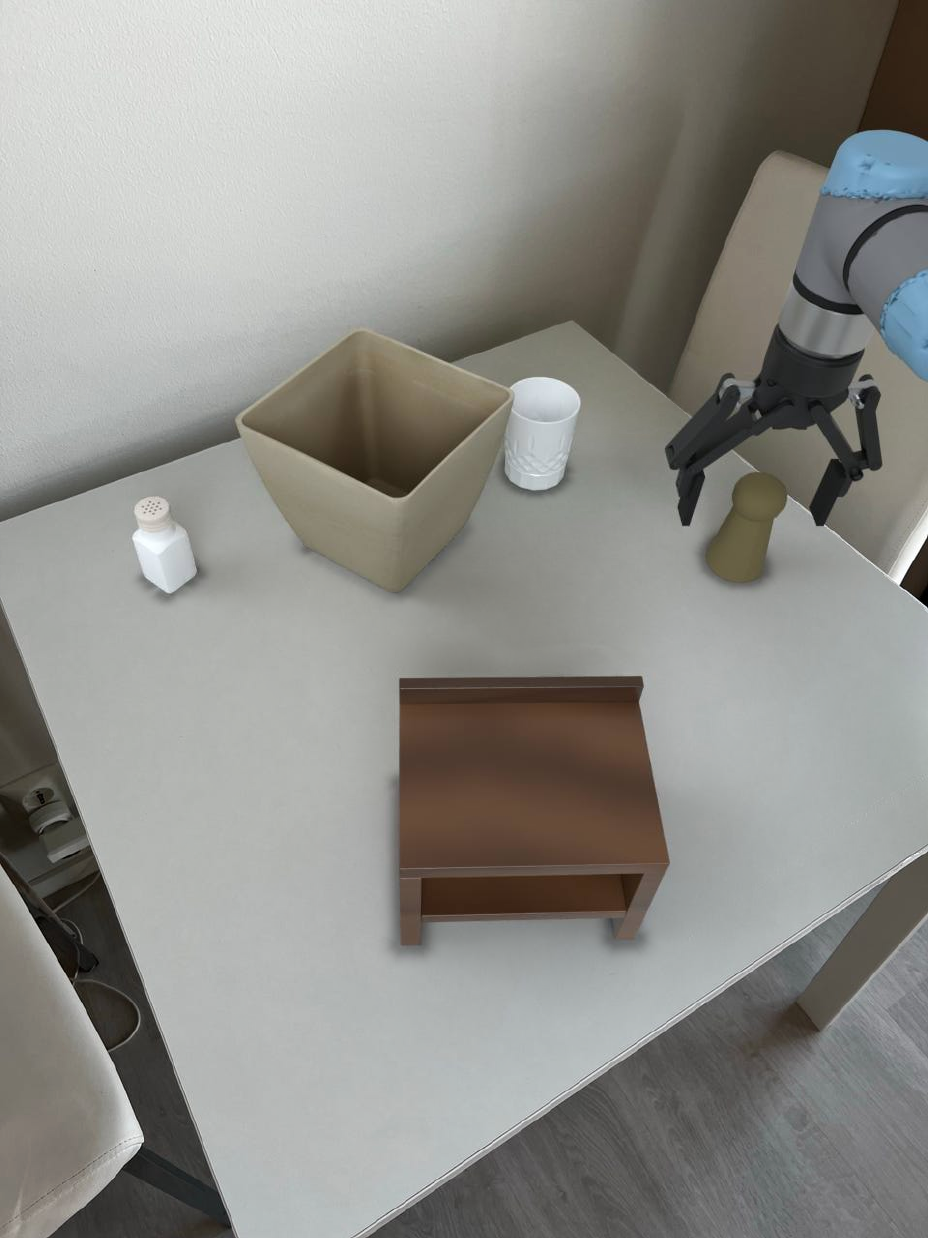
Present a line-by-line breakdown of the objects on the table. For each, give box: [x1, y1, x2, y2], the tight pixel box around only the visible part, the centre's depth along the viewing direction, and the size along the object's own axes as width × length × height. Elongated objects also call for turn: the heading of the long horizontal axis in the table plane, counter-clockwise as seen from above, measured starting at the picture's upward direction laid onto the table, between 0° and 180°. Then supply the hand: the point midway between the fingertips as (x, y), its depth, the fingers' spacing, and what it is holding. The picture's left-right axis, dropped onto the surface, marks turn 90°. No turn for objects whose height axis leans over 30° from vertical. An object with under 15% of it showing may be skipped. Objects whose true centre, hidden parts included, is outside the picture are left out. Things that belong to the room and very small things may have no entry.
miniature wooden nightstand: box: [398, 675, 671, 946], centre depth 71 cm, size 14×18×16 cm
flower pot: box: [234, 326, 515, 593], centre depth 94 cm, size 19×19×17 cm
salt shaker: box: [131, 496, 198, 594], centre depth 91 cm, size 4×4×10 cm
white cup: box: [503, 376, 582, 491], centre depth 104 cm, size 8×8×10 cm
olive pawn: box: [705, 471, 788, 584], centre depth 95 cm, size 6×6×11 cm
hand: (749, 516), depth 95 cm, fingers open, 13 cm apart
